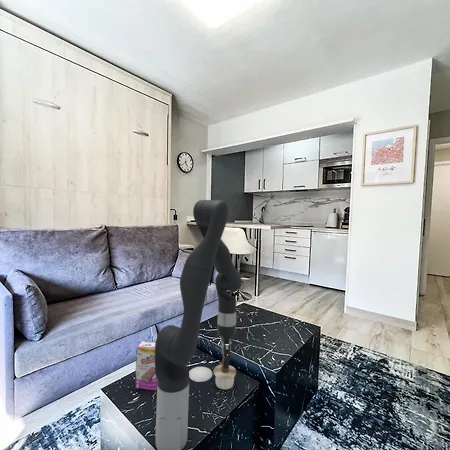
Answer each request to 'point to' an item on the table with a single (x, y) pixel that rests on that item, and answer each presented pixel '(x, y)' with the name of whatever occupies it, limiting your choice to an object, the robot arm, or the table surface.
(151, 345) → the candy bar box
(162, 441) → the robot arm
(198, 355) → the table surface
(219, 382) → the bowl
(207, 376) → the white round disc
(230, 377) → the lid
